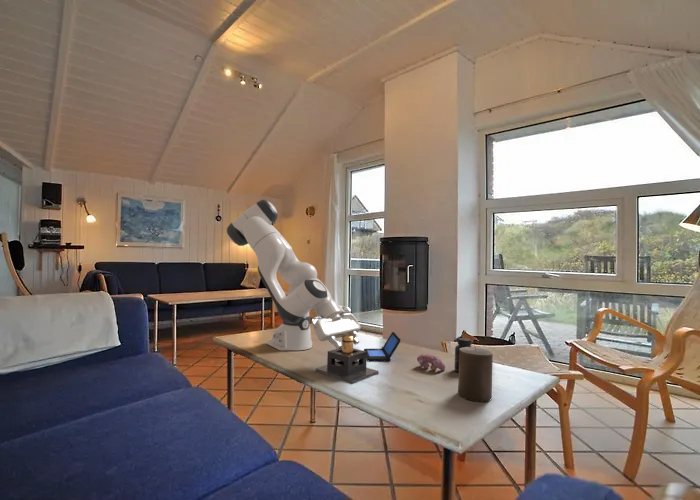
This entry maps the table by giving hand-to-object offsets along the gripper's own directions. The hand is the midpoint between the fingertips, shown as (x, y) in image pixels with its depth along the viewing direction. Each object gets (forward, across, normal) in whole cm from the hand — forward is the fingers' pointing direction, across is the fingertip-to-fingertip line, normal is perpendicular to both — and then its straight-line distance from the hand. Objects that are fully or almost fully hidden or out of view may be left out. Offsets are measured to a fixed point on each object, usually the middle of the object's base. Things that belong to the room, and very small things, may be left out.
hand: (348, 345), depth 124 cm
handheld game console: (+4, +26, +10) cm, 28 cm away
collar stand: (+6, 0, +7) cm, 10 cm away
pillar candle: (+36, +12, -22) cm, 44 cm away
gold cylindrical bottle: (+6, 0, +6) cm, 9 cm away
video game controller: (+21, +26, -6) cm, 34 cm away
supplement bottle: (+28, +32, -14) cm, 45 cm away
